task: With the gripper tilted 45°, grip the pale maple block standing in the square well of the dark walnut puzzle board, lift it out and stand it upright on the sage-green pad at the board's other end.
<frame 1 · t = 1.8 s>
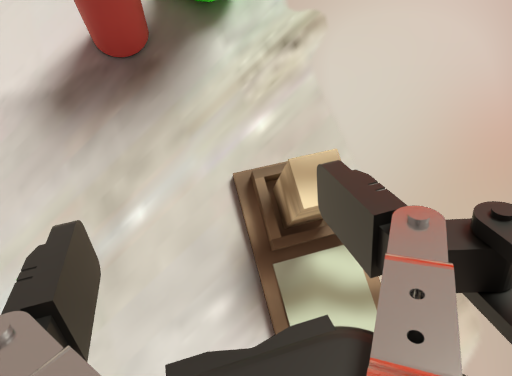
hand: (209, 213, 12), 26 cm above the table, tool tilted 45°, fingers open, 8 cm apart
maple block: (298, 203, 40), point 1 cm above the table, touching puzzle board
puzzle board: (309, 249, 39), on the table
beer can: (122, 38, 45), on the table
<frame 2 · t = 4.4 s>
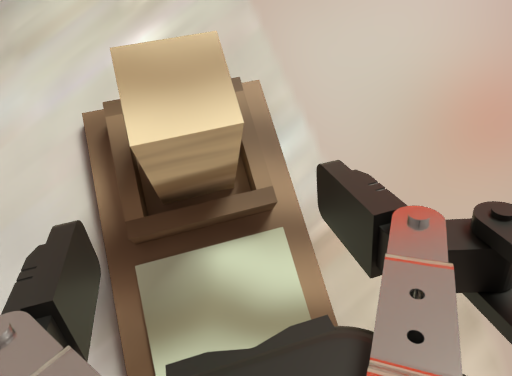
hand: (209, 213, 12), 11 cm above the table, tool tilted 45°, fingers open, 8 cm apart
maple block: (191, 163, 23), point 1 cm above the table, touching puzzle board
puzzle board: (209, 240, 23), on the table
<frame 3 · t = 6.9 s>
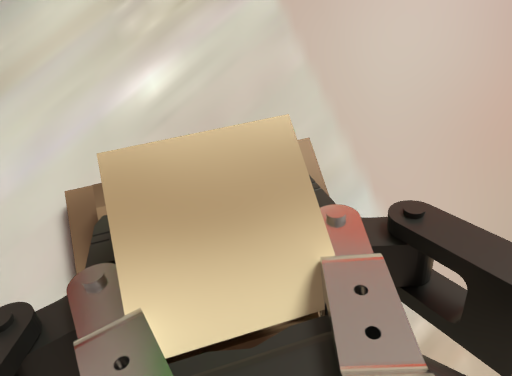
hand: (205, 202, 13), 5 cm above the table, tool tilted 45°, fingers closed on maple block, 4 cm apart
maple block: (219, 263, 16), point 1 cm above the table, touching gripper, puzzle board
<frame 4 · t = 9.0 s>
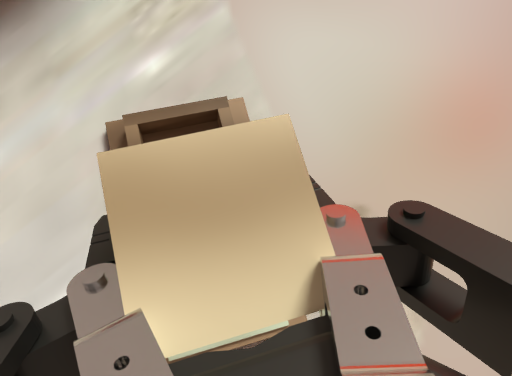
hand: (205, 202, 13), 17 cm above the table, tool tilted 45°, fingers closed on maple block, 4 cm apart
maple block: (219, 263, 16), point 13 cm above the table, touching gripper
puzzle board: (202, 221, 30), on the table
when the fingers open (7 cm above the table, at t = 11.3 s): maple block drops 1 cm, resting on puzzle board.
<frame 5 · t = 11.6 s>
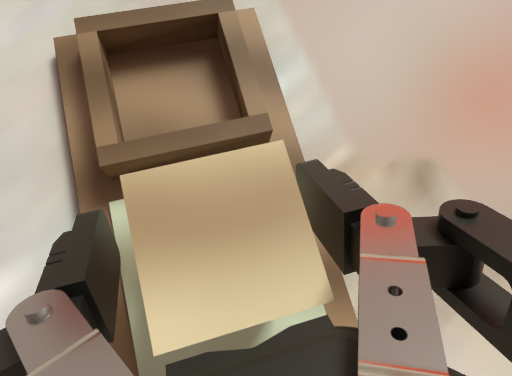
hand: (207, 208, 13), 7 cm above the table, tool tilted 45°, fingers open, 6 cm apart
maple block: (221, 266, 18), point 1 cm above the table, touching puzzle board
puzzle board: (196, 180, 20), on the table
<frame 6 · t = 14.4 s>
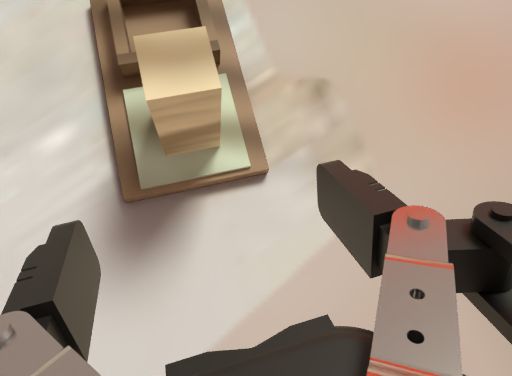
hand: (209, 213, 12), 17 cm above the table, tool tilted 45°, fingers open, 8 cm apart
maple block: (187, 127, 31), point 1 cm above the table, touching puzzle board
puzzle board: (176, 84, 33), on the table
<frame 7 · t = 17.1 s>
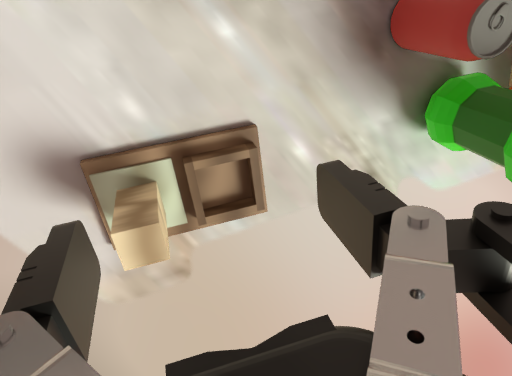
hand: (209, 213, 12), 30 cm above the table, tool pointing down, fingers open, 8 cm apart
maple block: (142, 202, 43), point 1 cm above the table, touching puzzle board
puzzle board: (182, 186, 45), on the table
plastic bottle: (442, 104, 50), on the table
beer can: (411, 19, 43), on the table
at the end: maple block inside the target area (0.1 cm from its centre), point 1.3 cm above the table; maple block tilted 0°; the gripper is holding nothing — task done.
